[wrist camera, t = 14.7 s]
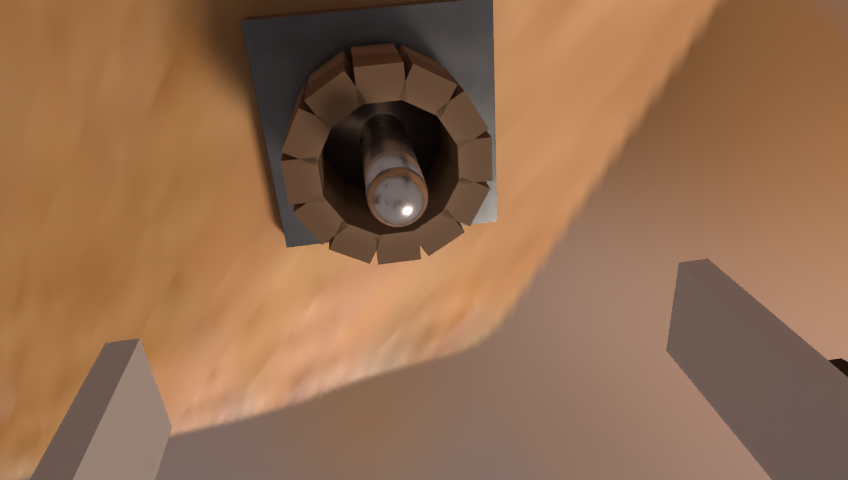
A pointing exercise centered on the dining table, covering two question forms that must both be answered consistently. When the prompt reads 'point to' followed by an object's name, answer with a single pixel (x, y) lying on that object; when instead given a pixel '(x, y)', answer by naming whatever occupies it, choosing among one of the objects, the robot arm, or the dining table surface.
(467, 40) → the post
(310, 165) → the ring
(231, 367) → the dining table surface
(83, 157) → the dining table surface
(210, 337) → the dining table surface
